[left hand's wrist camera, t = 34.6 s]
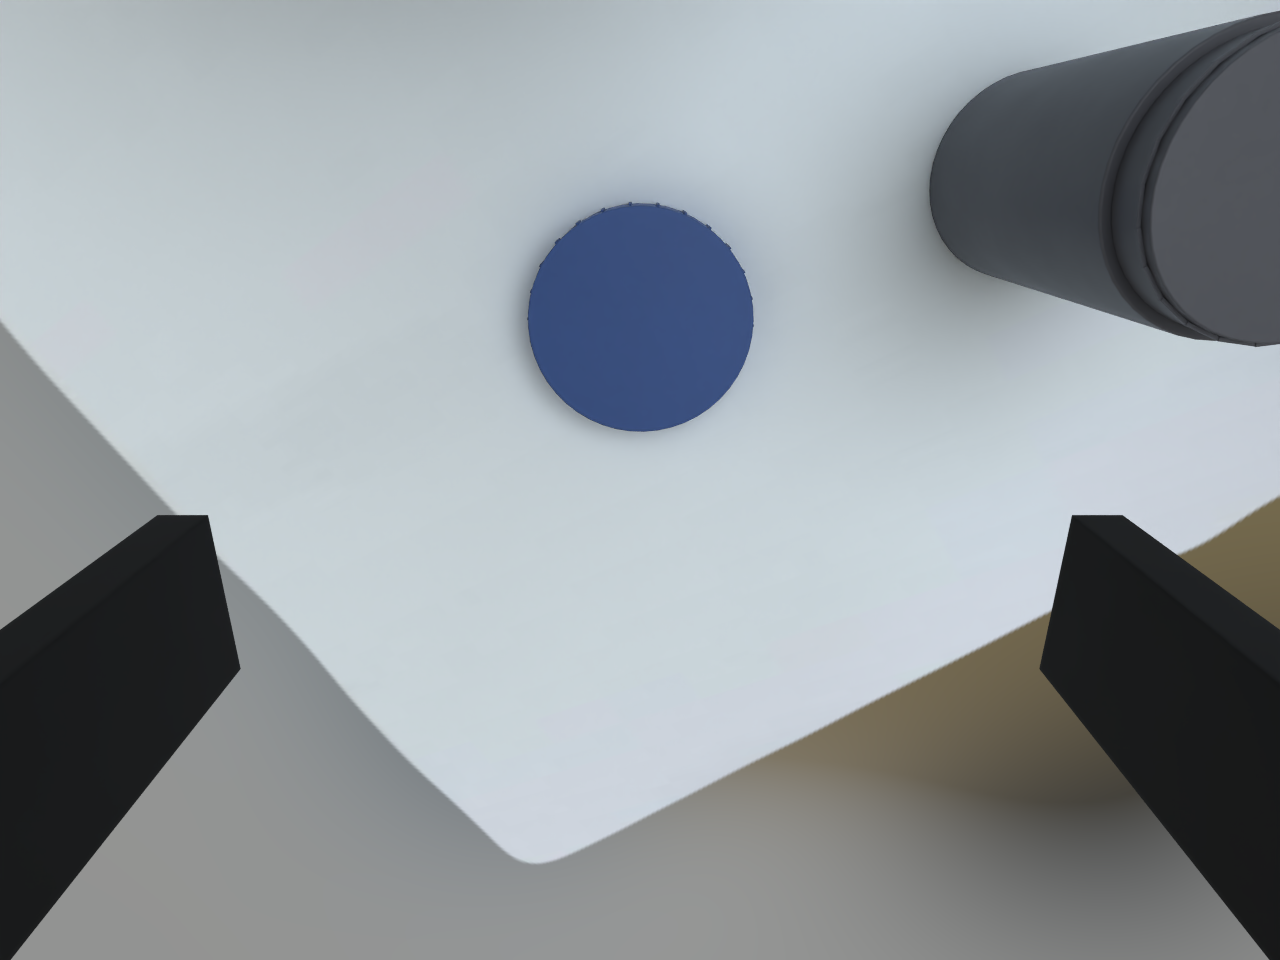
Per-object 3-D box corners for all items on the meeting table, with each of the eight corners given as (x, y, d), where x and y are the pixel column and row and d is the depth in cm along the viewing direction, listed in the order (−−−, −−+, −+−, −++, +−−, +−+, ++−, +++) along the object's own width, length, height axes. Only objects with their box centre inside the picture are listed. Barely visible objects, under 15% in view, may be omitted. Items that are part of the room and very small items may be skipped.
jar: (1021, 315, 37) (1272, 416, 22) (888, 196, 35) (1068, 219, 21) (1168, 159, 35) (1560, 156, 20) (1035, 22, 33) (1358, -94, 18)
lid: (645, 459, 40) (645, 475, 38) (488, 320, 37) (479, 328, 35) (793, 311, 37) (802, 320, 35) (635, 150, 35) (635, 150, 33)
